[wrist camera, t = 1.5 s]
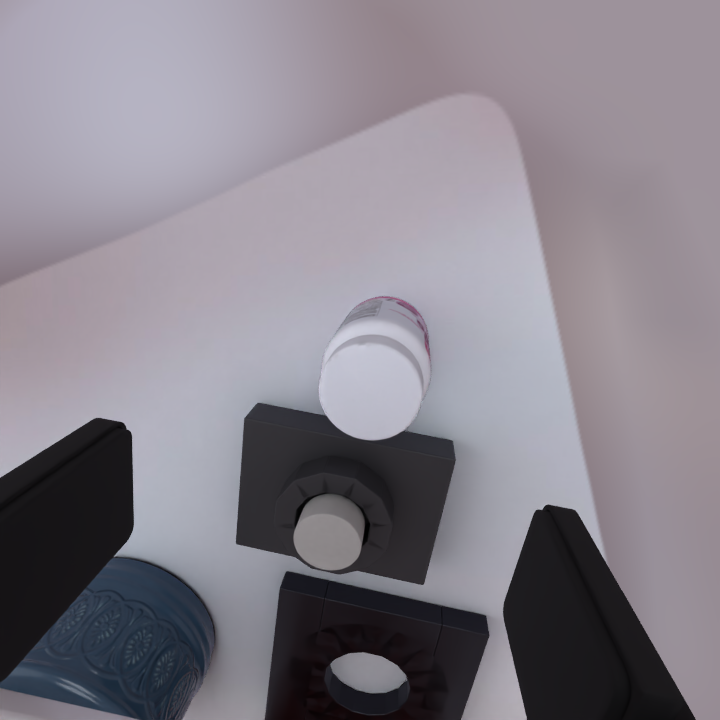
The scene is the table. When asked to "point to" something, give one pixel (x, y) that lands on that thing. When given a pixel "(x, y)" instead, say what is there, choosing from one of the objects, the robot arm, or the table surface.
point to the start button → (330, 532)
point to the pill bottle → (376, 369)
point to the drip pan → (375, 636)
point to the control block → (343, 488)
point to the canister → (123, 646)
